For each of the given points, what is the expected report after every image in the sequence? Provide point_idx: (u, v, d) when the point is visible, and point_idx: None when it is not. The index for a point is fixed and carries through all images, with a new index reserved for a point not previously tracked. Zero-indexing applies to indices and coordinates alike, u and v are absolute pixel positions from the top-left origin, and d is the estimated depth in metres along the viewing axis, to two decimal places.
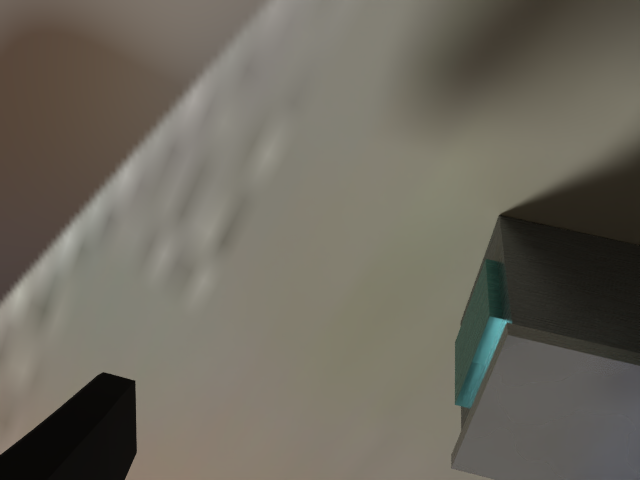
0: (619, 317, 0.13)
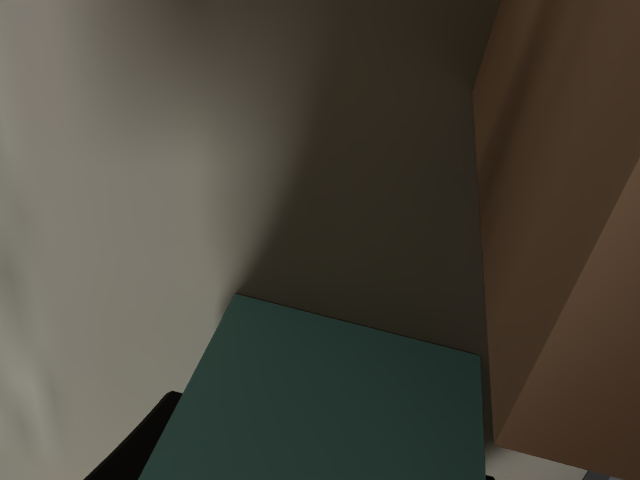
0: None
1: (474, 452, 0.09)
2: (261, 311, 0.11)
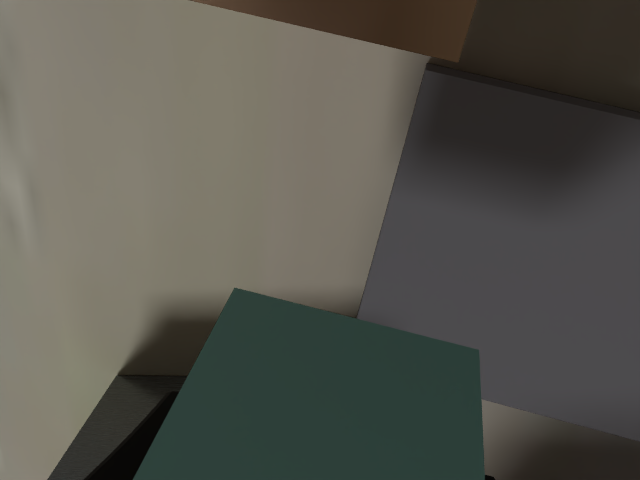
0: None
1: (473, 445, 0.09)
2: (260, 304, 0.11)
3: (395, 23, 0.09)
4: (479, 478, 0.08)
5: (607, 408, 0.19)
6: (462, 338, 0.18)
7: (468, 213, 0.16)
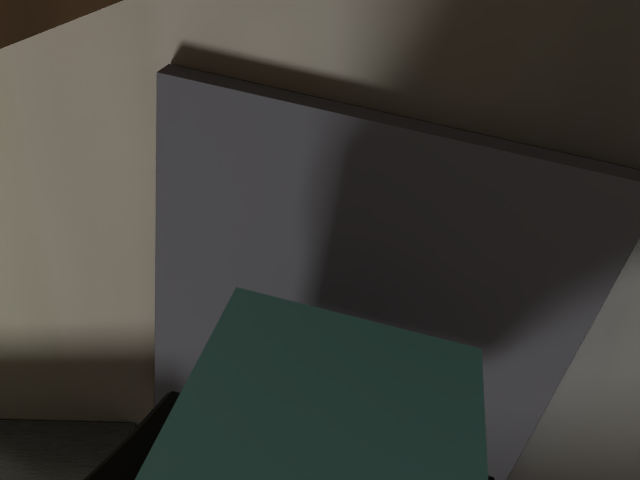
0: None
1: (476, 444, 0.09)
2: (262, 303, 0.11)
3: None
4: (482, 477, 0.08)
5: None
6: None
7: (244, 241, 0.14)
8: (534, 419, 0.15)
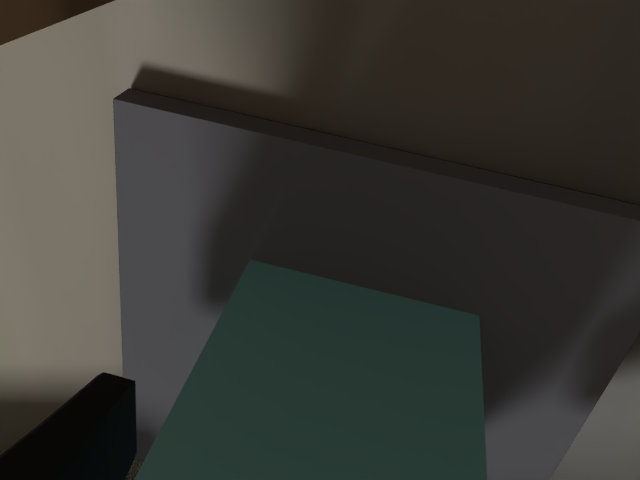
0: None
1: (474, 397, 0.09)
2: (275, 274, 0.11)
3: None
4: (479, 425, 0.09)
5: None
6: None
7: (218, 284, 0.12)
8: (543, 479, 0.13)
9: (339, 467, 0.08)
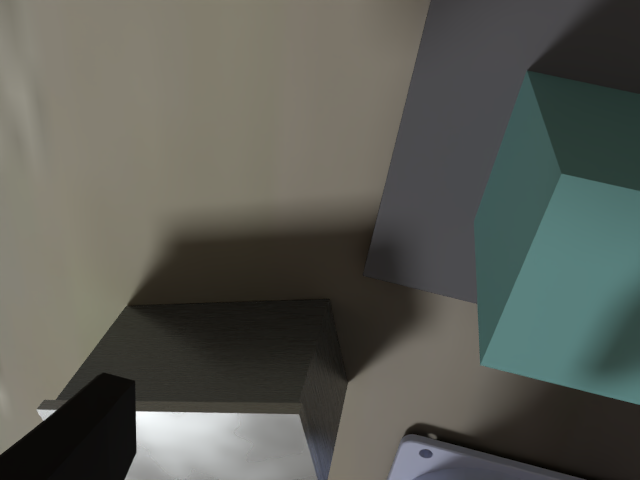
0: (142, 372, 0.19)
1: None
2: (551, 78, 0.15)
3: None
4: None
5: None
6: None
7: (492, 96, 0.15)
8: None
9: None
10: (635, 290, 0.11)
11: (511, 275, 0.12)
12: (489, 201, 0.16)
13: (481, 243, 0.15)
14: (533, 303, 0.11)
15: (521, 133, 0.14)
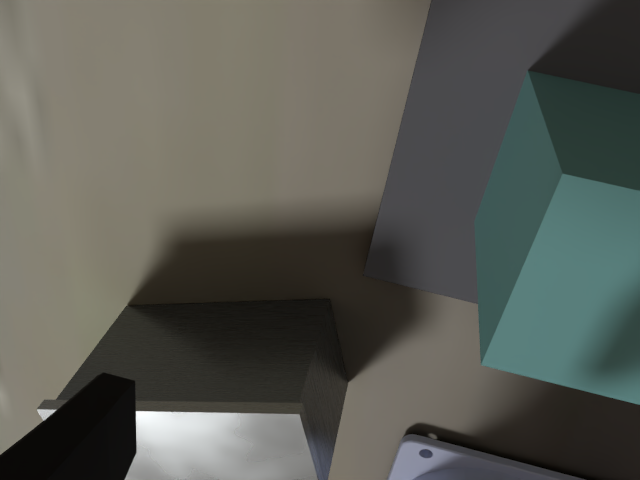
0: (143, 372, 0.19)
1: None
2: (552, 78, 0.15)
3: None
4: None
5: None
6: None
7: (493, 96, 0.15)
8: None
9: None
10: (637, 290, 0.11)
11: (512, 275, 0.12)
12: (490, 201, 0.16)
13: (482, 243, 0.15)
14: (533, 303, 0.11)
15: (522, 133, 0.14)
